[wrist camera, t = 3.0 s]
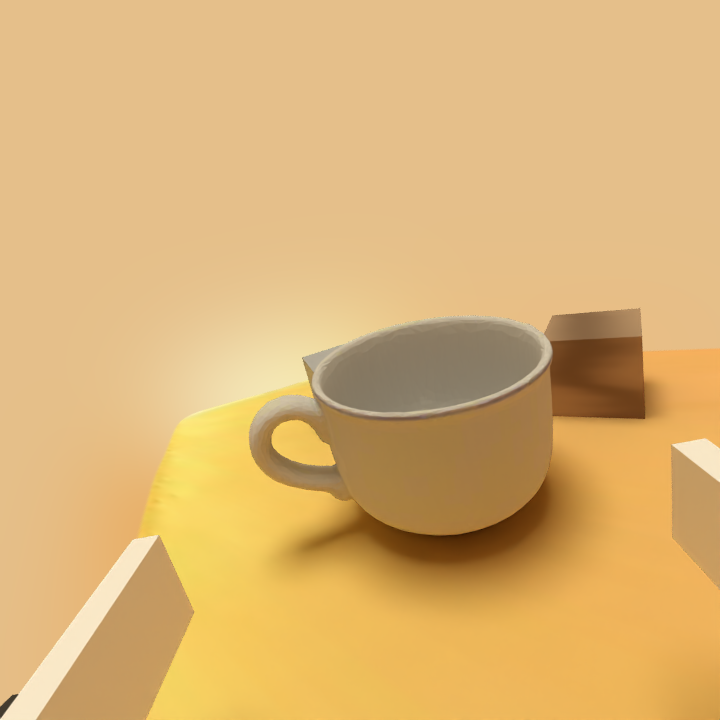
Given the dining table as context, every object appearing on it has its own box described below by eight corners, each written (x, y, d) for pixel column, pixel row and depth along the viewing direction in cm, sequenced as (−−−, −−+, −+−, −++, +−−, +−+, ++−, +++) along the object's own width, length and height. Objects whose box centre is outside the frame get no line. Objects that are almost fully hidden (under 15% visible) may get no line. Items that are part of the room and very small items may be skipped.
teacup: (514, 422, 27) (496, 298, 25) (620, 544, 17) (609, 354, 15) (299, 473, 28) (261, 356, 25) (276, 623, 17) (208, 451, 15)
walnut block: (643, 382, 28) (640, 308, 27) (645, 419, 25) (641, 336, 23) (559, 382, 31) (552, 315, 30) (549, 416, 27) (540, 341, 26)
